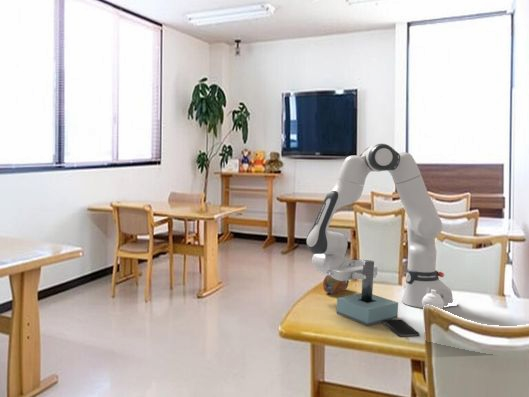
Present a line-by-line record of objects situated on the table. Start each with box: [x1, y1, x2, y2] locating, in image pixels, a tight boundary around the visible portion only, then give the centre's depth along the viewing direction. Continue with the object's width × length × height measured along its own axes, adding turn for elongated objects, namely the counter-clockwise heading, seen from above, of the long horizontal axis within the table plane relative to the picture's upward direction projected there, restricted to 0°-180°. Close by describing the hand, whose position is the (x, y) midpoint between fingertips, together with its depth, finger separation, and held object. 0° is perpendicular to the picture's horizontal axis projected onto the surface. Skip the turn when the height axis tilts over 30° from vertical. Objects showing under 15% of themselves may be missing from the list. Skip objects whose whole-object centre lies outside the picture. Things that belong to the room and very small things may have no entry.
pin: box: [361, 259, 375, 302], centre depth 188 cm, size 4×4×15 cm
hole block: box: [336, 292, 399, 327], centre depth 189 cm, size 16×16×6 cm
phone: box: [382, 319, 420, 338], centre depth 176 cm, size 8×1×15 cm
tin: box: [322, 275, 350, 295], centre depth 222 cm, size 15×3×8 cm, turn 132°
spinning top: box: [422, 290, 444, 309], centre depth 184 cm, size 8×8×12 cm
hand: (369, 276), depth 187 cm, fingers closed on pin, 4 cm apart
